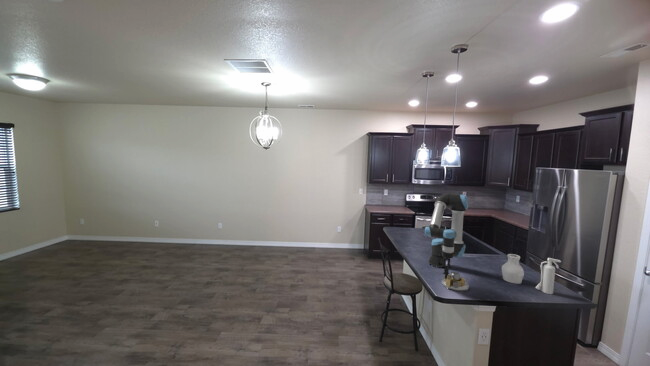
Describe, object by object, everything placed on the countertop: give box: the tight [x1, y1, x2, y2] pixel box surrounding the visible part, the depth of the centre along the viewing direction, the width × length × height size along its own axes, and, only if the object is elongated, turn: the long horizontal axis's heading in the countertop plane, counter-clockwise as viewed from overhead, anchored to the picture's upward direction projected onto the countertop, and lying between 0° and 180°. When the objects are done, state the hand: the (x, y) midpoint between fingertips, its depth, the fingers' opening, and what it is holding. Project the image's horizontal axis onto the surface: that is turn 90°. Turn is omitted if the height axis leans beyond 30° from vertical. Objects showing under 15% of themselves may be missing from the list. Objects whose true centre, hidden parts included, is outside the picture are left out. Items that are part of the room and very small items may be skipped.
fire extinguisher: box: [535, 257, 562, 295], centre depth 183 cm, size 7×12×25 cm, turn 65°
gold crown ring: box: [446, 274, 466, 287], centre depth 188 cm, size 17×12×5 cm
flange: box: [441, 271, 470, 292], centre depth 189 cm, size 18×18×9 cm
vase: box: [501, 253, 525, 285], centre depth 201 cm, size 14×14×20 cm
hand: (445, 282), depth 187 cm, fingers closed
